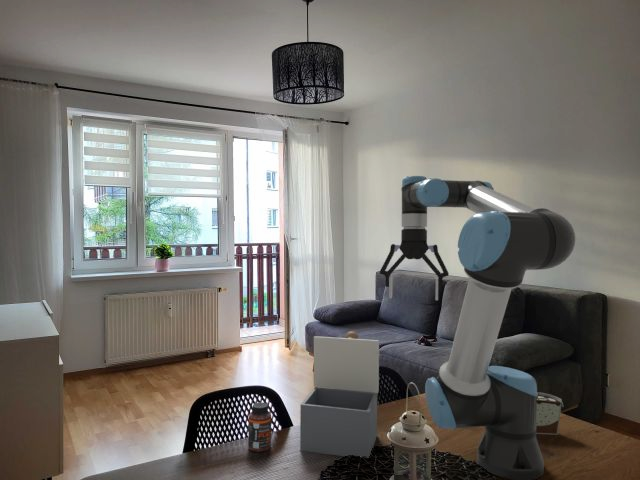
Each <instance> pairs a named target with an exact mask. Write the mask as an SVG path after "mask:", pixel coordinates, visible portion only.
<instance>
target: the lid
mask: <svg viewBox="0 0 640 480" xmlns="http://www.w3.org/2000/svg"><path fill="white" fill-rule="evenodd" d="M379 355H380V340H378V339H364V338H363V339H362V338H359V335H358V333H357V332H355V331H353V330H352V331H348V332H347V333H346V334H345V337H333V336H332V337H330V336H318V335H317V336H316V335H315V336H313V388H315V387H319V388H330V389H340V390H351V391H361V392H372V393H377V394H378V393H379V390H380V389H379V388H380V387H379V386H380V385H379V384H380V383H379V380H380V379H379V377H380V372H379V371H380V369H379V368H380V356H379Z"/></svg>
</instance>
